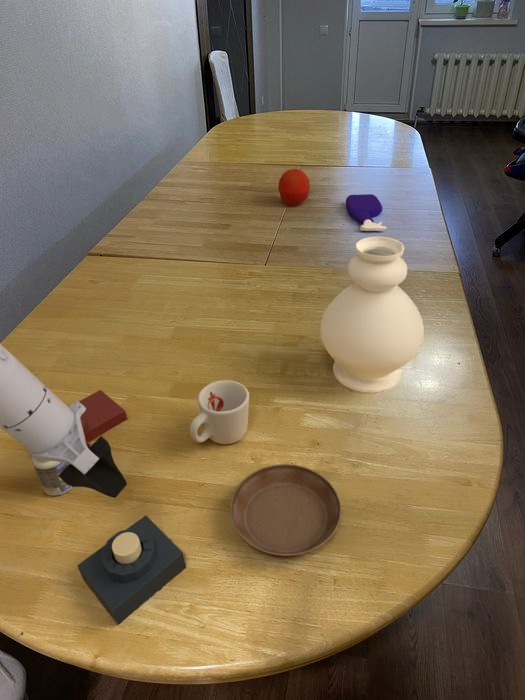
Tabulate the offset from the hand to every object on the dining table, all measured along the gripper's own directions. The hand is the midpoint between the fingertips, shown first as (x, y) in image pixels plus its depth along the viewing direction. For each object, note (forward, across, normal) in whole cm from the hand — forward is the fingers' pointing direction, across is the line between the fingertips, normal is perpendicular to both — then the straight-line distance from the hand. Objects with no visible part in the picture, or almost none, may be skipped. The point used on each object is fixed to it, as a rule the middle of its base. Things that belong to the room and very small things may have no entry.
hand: (104, 476), depth 60 cm
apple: (+36, +73, -100) cm, 129 cm away
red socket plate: (+10, +27, -3) cm, 29 cm away
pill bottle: (+9, +18, +5) cm, 21 cm away
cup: (+19, +9, -16) cm, 26 cm away
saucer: (+21, -9, -11) cm, 25 cm away
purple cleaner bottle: (+43, +49, -104) cm, 122 cm away
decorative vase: (+31, +3, -43) cm, 53 cm away
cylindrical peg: (+8, -3, +5) cm, 10 cm away
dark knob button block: (+13, -2, +6) cm, 14 cm away
